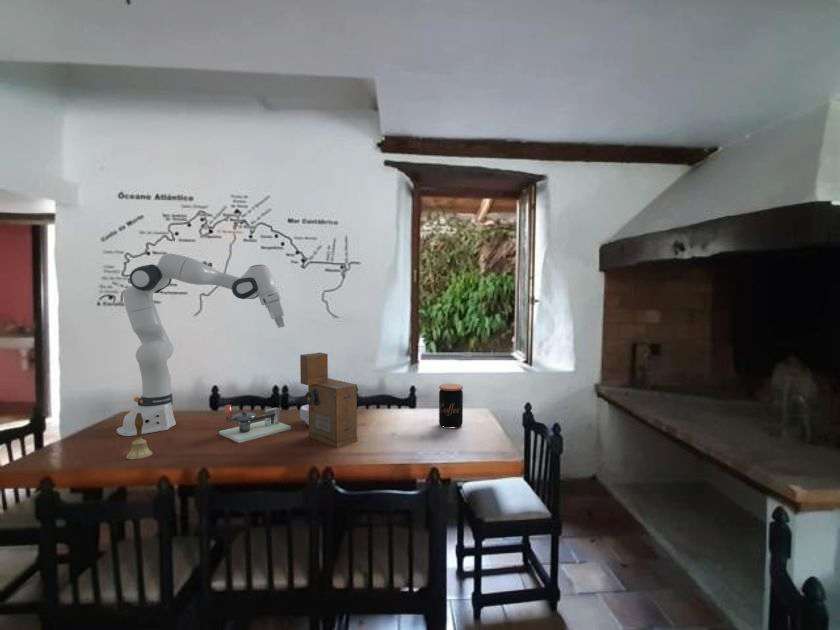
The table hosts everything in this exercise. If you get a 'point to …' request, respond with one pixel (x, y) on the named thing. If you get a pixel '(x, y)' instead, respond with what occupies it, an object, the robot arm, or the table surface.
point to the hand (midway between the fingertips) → (281, 327)
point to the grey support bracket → (277, 416)
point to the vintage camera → (328, 402)
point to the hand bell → (139, 442)
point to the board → (254, 431)
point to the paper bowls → (305, 413)
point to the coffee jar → (450, 405)
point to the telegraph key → (245, 418)
